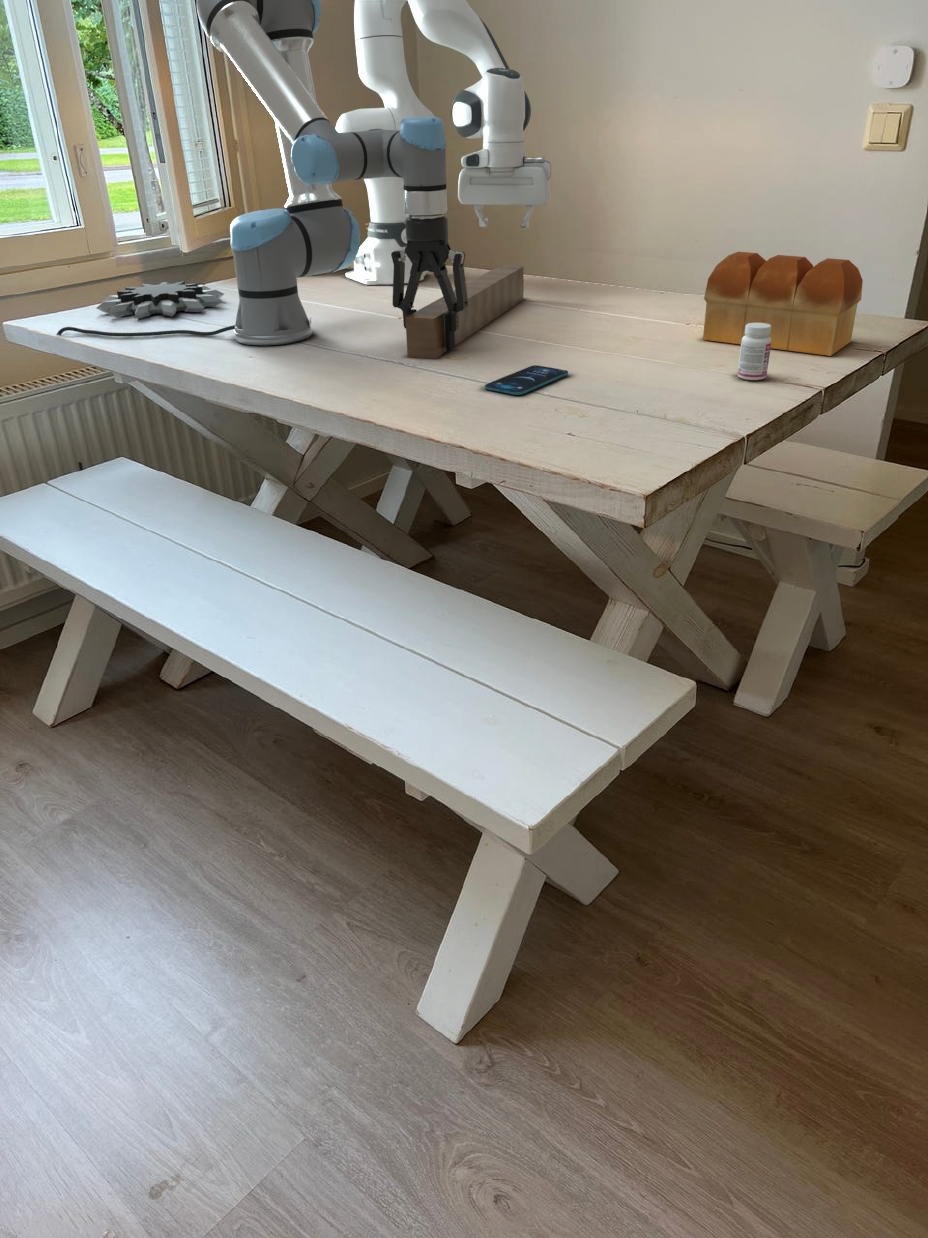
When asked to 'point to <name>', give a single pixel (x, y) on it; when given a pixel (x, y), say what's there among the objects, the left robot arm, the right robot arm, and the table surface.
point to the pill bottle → (755, 351)
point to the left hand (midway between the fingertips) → (431, 346)
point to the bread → (784, 301)
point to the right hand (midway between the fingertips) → (504, 227)
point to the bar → (464, 311)
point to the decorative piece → (160, 299)
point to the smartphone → (526, 380)
